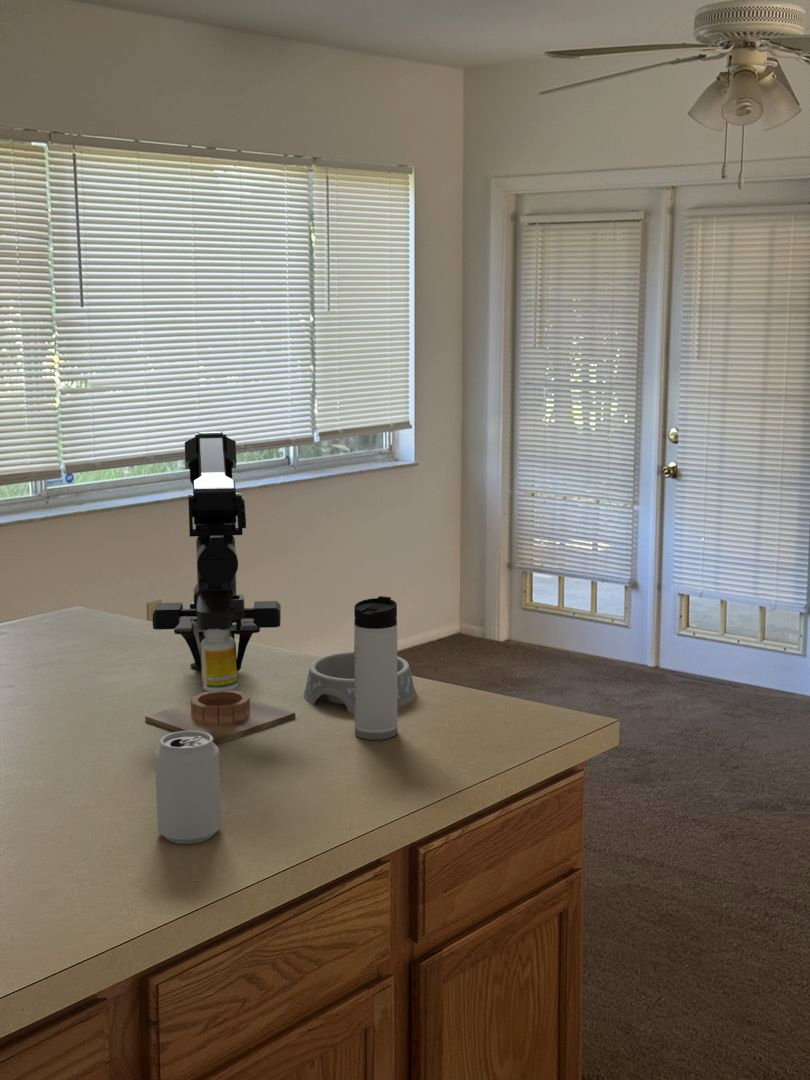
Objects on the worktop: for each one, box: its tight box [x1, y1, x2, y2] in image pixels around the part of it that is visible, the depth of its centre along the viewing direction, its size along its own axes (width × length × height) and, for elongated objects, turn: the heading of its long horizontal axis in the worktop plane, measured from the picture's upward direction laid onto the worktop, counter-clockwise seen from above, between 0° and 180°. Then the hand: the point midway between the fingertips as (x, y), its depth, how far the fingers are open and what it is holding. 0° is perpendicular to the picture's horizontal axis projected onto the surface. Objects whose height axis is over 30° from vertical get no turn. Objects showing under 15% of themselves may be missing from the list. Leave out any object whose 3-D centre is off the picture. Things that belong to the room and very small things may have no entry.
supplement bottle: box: [200, 628, 239, 692], centre depth 189 cm, size 5×5×10 cm
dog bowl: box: [303, 651, 417, 714], centre depth 203 cm, size 17×18×5 cm
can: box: [154, 731, 222, 845], centre depth 149 cm, size 8×8×12 cm
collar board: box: [144, 689, 296, 746], centre depth 190 cm, size 16×16×3 cm
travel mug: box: [353, 595, 398, 741], centre depth 183 cm, size 6×7×20 cm
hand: (219, 670), depth 189 cm, fingers closed on supplement bottle, 5 cm apart
